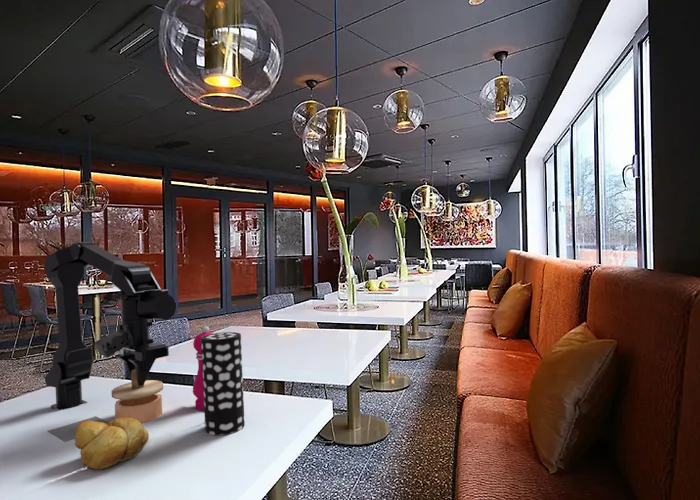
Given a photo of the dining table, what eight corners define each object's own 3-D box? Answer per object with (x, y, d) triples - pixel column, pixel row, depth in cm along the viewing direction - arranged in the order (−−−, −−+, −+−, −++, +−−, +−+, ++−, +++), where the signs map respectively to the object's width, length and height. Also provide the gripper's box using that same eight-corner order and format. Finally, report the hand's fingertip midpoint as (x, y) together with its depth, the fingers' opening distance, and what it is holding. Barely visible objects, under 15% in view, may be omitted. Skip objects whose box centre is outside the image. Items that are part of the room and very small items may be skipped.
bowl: (108, 420, 105) (107, 402, 105) (149, 407, 112) (148, 390, 112) (128, 430, 99) (127, 410, 99) (170, 415, 106) (169, 397, 106)
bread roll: (138, 439, 94) (137, 401, 94) (163, 451, 88) (161, 410, 88) (70, 464, 83) (68, 421, 83) (92, 479, 77) (91, 433, 77)
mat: (47, 433, 99) (47, 430, 99) (96, 418, 106) (95, 416, 106) (65, 444, 92) (65, 441, 92) (115, 427, 100) (115, 425, 100)
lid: (103, 393, 105) (102, 372, 105) (149, 381, 113) (148, 361, 113) (125, 402, 98) (124, 379, 98) (172, 389, 106) (171, 368, 106)
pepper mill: (214, 411, 108) (211, 328, 108) (187, 410, 109) (184, 328, 109) (228, 401, 115) (225, 323, 115) (203, 400, 116) (199, 323, 116)
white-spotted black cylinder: (252, 422, 100) (248, 333, 100) (227, 437, 93) (223, 340, 92) (223, 418, 104) (219, 331, 103) (196, 432, 96) (192, 338, 96)
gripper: (81, 320, 105) (84, 387, 105) (118, 327, 93) (121, 402, 93) (129, 314, 114) (131, 375, 114) (168, 319, 102) (171, 387, 102)
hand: (137, 384), depth 105 cm, fingers closed on lid, 3 cm apart
